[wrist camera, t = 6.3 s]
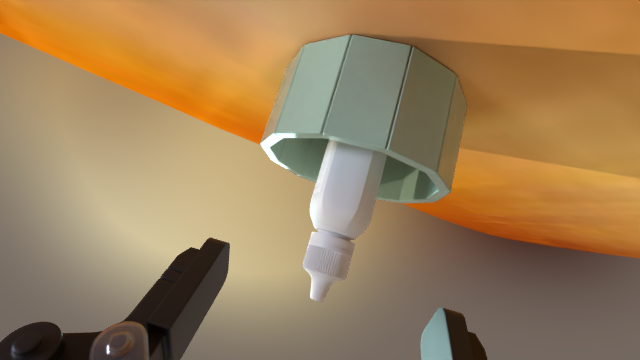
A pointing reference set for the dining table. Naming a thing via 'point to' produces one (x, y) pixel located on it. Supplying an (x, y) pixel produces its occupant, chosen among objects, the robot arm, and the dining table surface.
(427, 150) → the celadon cup
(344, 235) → the eye dropper bottle
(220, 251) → the robot arm
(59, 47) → the dining table surface
